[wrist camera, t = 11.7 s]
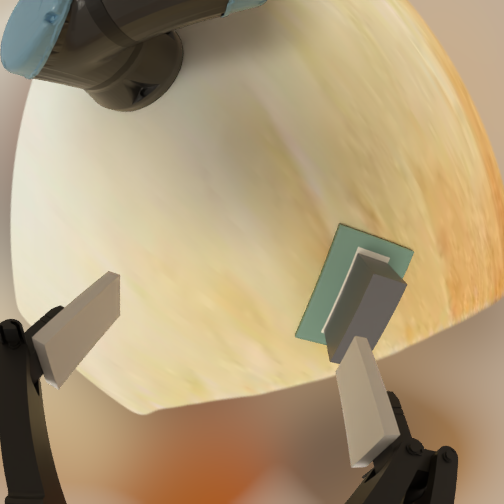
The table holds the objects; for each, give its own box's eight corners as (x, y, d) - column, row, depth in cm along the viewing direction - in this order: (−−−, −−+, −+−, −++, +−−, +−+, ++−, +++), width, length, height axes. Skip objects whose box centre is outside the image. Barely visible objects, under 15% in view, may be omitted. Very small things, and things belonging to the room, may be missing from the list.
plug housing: (357, 252, 36) (373, 273, 29) (387, 262, 36) (407, 284, 29) (323, 330, 40) (329, 361, 33) (351, 337, 40) (361, 368, 33)
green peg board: (339, 223, 36) (348, 234, 31) (411, 250, 36) (429, 263, 30) (295, 334, 42) (296, 357, 36) (362, 350, 42) (370, 373, 36)
